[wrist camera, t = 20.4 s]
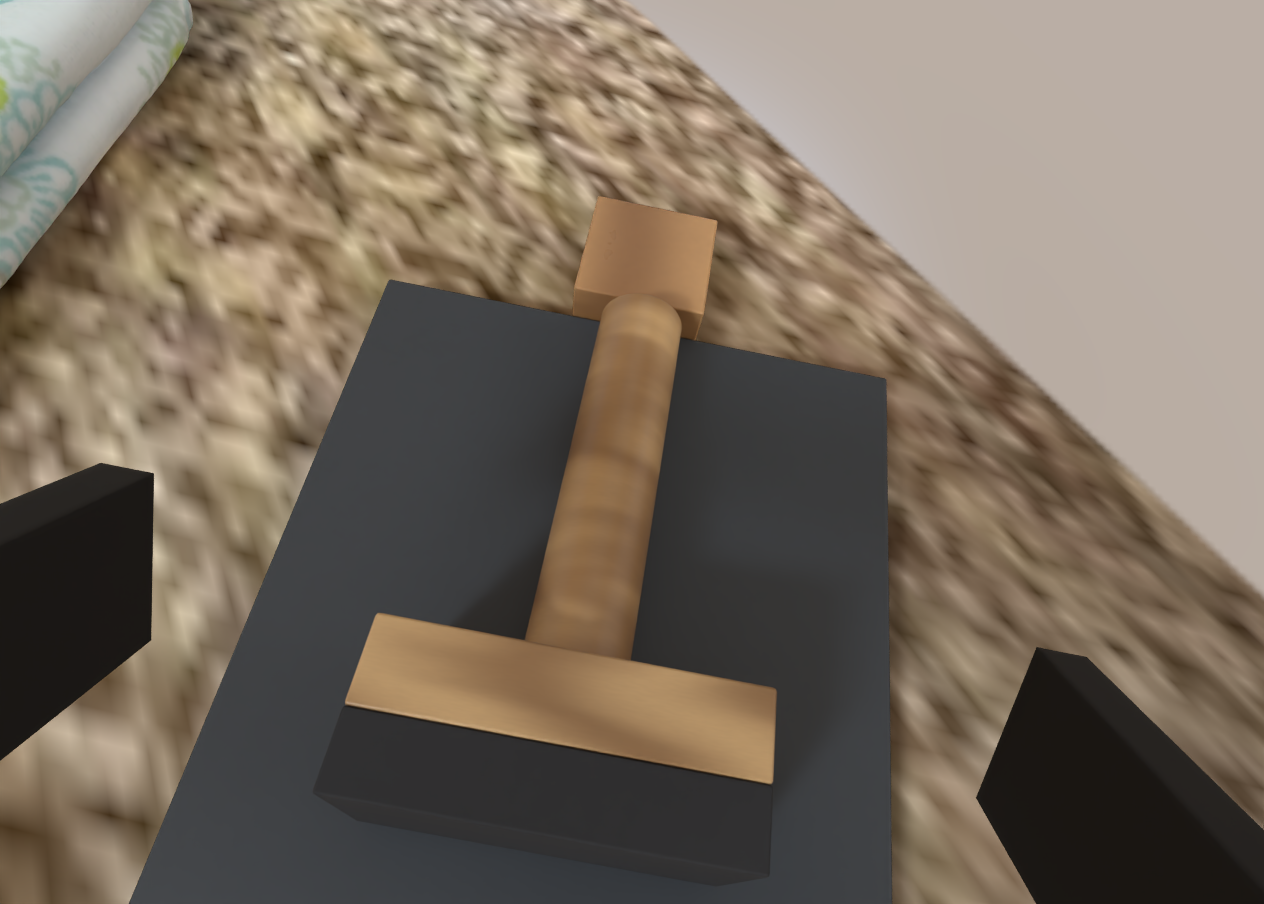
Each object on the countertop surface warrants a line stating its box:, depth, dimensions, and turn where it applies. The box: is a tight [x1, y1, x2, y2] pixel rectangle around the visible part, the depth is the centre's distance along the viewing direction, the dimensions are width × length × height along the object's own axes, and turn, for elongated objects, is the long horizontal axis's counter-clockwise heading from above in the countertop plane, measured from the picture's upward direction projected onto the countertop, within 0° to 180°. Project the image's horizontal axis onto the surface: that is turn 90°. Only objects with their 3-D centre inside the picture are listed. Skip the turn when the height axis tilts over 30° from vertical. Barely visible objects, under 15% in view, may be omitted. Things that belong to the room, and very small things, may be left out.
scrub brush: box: [313, 294, 777, 887], centre depth 18 cm, size 8×4×14 cm
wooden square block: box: [572, 196, 717, 341], centre depth 24 cm, size 4×4×2 cm
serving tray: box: [129, 280, 892, 904], centre depth 19 cm, size 16×20×1 cm
